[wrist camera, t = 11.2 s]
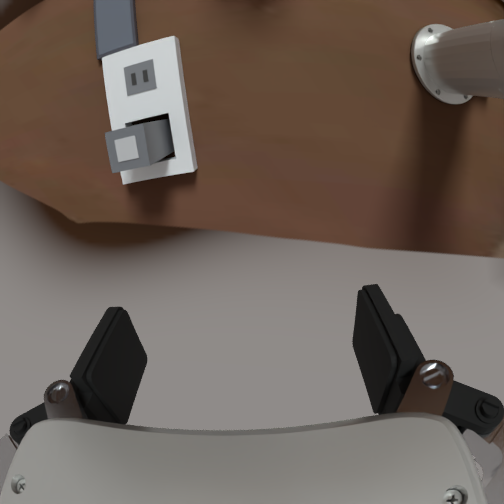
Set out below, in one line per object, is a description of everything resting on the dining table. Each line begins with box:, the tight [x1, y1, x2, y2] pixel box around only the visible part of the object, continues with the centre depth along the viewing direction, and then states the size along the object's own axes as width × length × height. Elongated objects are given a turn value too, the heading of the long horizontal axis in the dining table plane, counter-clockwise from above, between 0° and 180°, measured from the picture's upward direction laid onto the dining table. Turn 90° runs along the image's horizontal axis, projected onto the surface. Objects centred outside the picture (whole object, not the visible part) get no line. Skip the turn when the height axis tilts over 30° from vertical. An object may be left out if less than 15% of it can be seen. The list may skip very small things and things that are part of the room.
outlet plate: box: [102, 36, 198, 184], centre depth 33 cm, size 10×18×3 cm, turn 7°
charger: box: [105, 119, 174, 173], centre depth 32 cm, size 4×4×10 cm
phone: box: [94, 0, 139, 60], centre depth 28 cm, size 6×11×1 cm, turn 7°
